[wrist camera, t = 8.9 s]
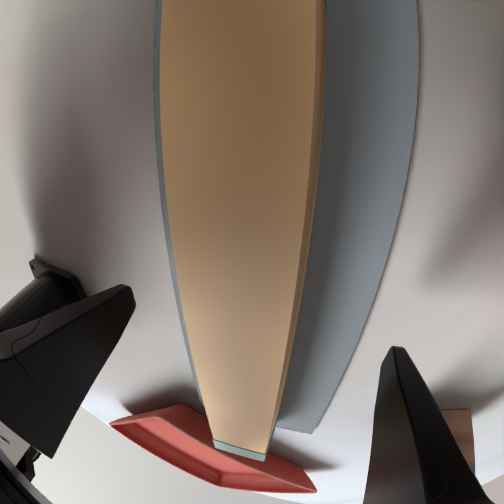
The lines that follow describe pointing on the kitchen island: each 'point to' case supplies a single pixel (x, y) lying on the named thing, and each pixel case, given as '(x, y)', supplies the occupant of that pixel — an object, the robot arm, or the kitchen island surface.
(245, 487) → the plant saucer
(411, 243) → the kitchen island surface
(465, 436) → the post
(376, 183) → the mat
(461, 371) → the kitchen island surface
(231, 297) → the rail
